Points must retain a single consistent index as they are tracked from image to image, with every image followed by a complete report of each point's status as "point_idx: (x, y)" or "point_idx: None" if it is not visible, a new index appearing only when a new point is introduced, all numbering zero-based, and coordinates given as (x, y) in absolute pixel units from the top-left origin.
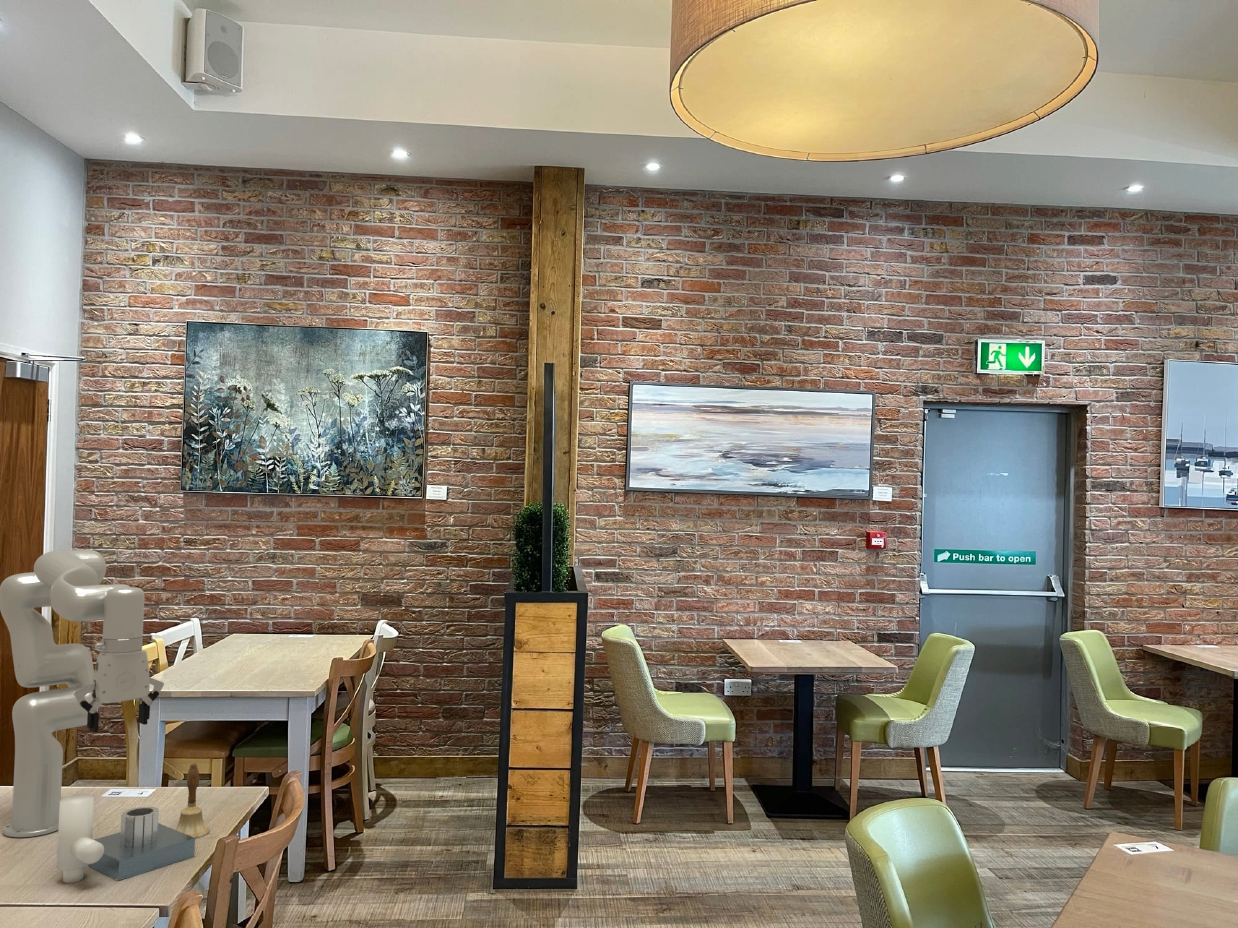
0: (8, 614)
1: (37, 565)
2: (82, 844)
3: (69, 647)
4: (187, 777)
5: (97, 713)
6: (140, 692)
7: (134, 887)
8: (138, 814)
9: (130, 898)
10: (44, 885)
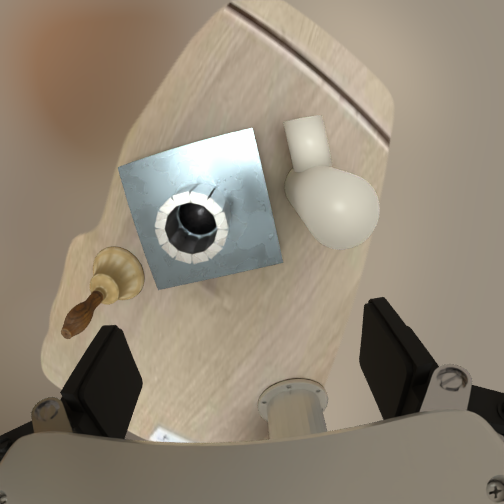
0: None
1: None
2: (322, 134)
3: None
4: (86, 320)
5: (420, 361)
6: (52, 473)
7: (237, 86)
8: (191, 249)
9: (253, 50)
10: None
